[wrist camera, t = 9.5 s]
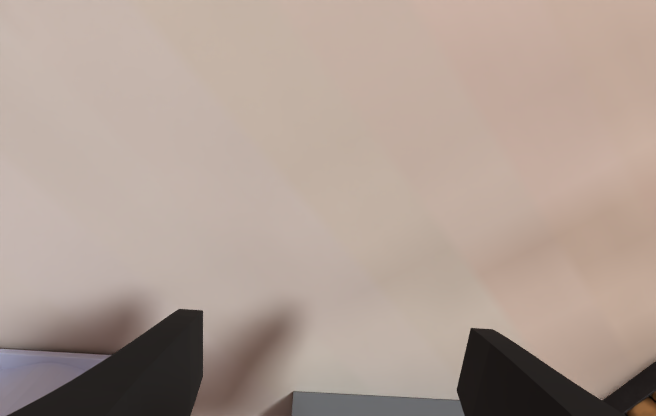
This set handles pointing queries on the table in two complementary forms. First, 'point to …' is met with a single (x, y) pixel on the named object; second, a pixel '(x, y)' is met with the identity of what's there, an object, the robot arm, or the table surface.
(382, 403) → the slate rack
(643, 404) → the ammunition clip
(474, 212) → the table surface
